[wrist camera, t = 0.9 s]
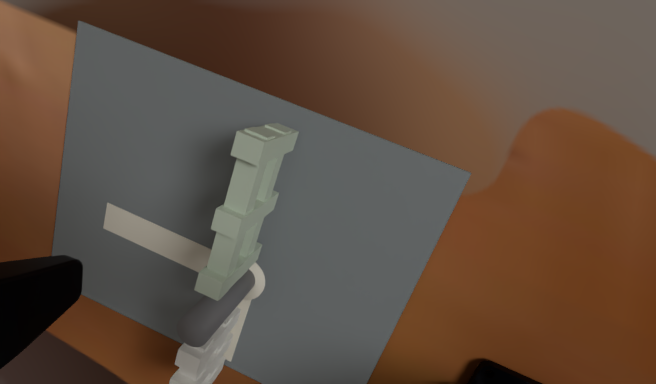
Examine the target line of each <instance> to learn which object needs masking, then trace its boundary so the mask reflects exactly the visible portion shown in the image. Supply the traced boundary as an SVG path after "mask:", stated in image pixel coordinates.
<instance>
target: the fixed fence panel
mask: <svg viewBox="0 0 656 384" xmlns="http://www.w3.org/2000/svg"><path fill="white" fill-rule="evenodd" d="M254 285H255V277H254V274H253V273H252V271H251V270H249V269H248V270H247V272H246V273H245V274H244V275H243V276H242V277H241V278H240V279H238V281H237V282H236V283H235V284H234V285H233V286H232V287H231V288H230V289H229V291H228V292H227V293H226V294H225V295H224V296H223V297H222V298H221V299H220V300H218V301H216V300H214V299H212V298H210V297H208V296H206V295H205V296H204V297H203V298H202V299H201V300H200V301H199V302H198V303H197V304H196V305H194V306H193V307H192V308H191V309H190V310H189V311H188V312H187V313H186V314H185V315H184V316H183V317H182V318H181V319H180V320H179V321H178V323H177V333H178V335H179V337H180V339H181V340H182V341H183V342H184V344H183V345H182V346H181V347H180V348H179V349H178V353H177V356H176V360H175V364H174V365H176V366H178V367H179V369H178V370H177V371H176V372H175V374H174V375H173V376H172V377H171V379H170V382H169V384H212V383H213V381H214V380H215V379H216V377H217V376H218V374H219V373H220V372H221V370H222V368H223V365H224V362H225V359H226V357H224V356H223V355H224V353H225V352H226V350H227V349H228V348H229V346H230V343H231V340H232V337H233V334H232V333H230V331H231V330H232V328H233V327H234V326H235V325H236V323H237V321H238V318H239V315H240V312H241V309H240V308H238V307H237V306H238V304H239V303H240V302H241V301H242V300H243V299H244V297H245V296H246V295H247V294H248V293H249V291H250V290H251V289H252V288H253V287H254Z"/></svg>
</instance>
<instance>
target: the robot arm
mask: <svg viewBox="0 0 656 384" xmlns="http://www.w3.org/2000/svg"><path fill="white" fill-rule="evenodd" d="M82 282H83V264H82V262H81V261H80V260H78V259H76V258H73V257H71V256H68V255H57V256H49V257H41V258H32V259H24V260H16V261H8V262H0V369H1V368H2V367H4V366H5V365H6V364H7V363H9V362H10V361H11V360H12V359H14V358H15V357H16V356H17V355H18V354H20V352H22V351H23V350H24V349H25V348H26V347H27V346H29V345H30V344H31V343H32V342H33V341H34V340H35V339H36V338H37V337H38V336H39V335H41V334H42V333H43V332H44V331H45V330H46V329H47V328H48V327H49V326H50V325H51V324H52V323H54V322H55V321H56V320H57V319H58V318H59V317H60V316H61V315H62V314H63V313H64V312H65V311H67V310H68V309H69V308H70V307H71V306H72V305H73V304H74V303H75V302H76V301H77V300H78V299H79V297H80V295H81V293H82ZM486 370H492V372H490V373H487V372H485V371H486ZM467 384H541V383H539V382H537V381H535V380H532V379H530V378H528V377H526V376H523V375H521V374H519V373H517V372H515V371H512V370H510V369H508V368H506V367H503V366H501V365H499V364H497V363H494V362H492V361H483V362H481V363H480V364H479V365H478V367H477V368H476V370H475V371H474V373H473V375H472V376H471V378H470V380H469V381H468V383H467Z"/></svg>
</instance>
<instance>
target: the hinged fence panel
mask: <svg viewBox="0 0 656 384" xmlns="http://www.w3.org/2000/svg"><path fill="white" fill-rule="evenodd" d="M298 133H299V131H296V130H294V129H291V128H289V127H286V126H284V125H281V124H278V123H274V124H273V123H271V124H266V125H264V126H259V127H250V128H245V130H240V131H237V132H236V136H235V140H234V143H233V147H232V151H231V155H232V156H234V157H237V159H236V163H235V166H234V170H233V174H232V177H231V181H230V185H229V188H228V192H227V195H226V199H225V203H224V204H223V205H221V206H219V207H218V208H216V211H215V214H214V218H213V222H212V226H211V229H212V230H214V231H216V236H215V239H214V243H213V247H212V250H211V254H210V257H209V261H208V265H207V266H206V267H204V268H203V269H202V270H201V271H199V274H198V278H197V282H196V285H195V289H194V290H195V291H197V292H199V293H202V294H204V295H206V296H208V297H210V298H212V299H214V300H216V301H218V300H220V299H221V298H222V297H223V296H224V295H225V294H226V293H227V292H228V291H229V289H230V288H231V287H232V286H233V285H234V284H235V283H236V282H237V281H238V279H240V278H241V277H242V276H243V275H244V274H245V273H246V272H247V270H248V269H249V268H250V267H251V266H252V265H253V264H254V263H255V262H256V261H257V260H258V257H259V254H260V250H261V247H262V244H260V243H258V242H257V239H258V235H259V232H260V229H261V226H262V223H263V220H264V217H265V216H266V215H268V214H269V213H270V212H271V211H273V210H274V207H275V204H276V201H277V198H278V195H279V193H278V192H276V191H274V190H273V188H274V185H275V182H276V179H277V175H278V172H279V169H280V166H281V163H282V160H283V157H284V154H286V153H288V152H290V151H293V149H294V145H295V142H296V139H297V136H298Z"/></svg>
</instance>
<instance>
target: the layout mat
mask: <svg viewBox="0 0 656 384" xmlns="http://www.w3.org/2000/svg"><path fill="white" fill-rule="evenodd" d="M271 123H273V124H274V123H278V124H281V125H284V126H286V127H289V128H291V129H294V130H296V131H299V133H298V136H297V139H296V142H295V145H294V149H293V151H290V152H288V153H286V154H284V157H283V160H282V163H281V166H280V169H279V172H278V175H277V179H276V182H275V185H274V188H273V190H274V191H276V192H278V193H279V195H278V198H277V201H276V204H275V207H274V210H273V211H271V212H270V213H269V214H268V215H266V216H265V217H264V220H263V223H262V226H261V229H260V232H259V235H258V239H257V242H258V243H260V244H262V247H261V250H260V254H259V257H258V260H257V261H256V262H255V263H254V264H253V265H252V266H251V267H250V268H249V270H251V271H252V273H253V274H254V277H255V285H254V287H253V288H252V289H251V290H250V291H249V293H248V294H247V295H246V296H245V297H244V299H243V300H242V301H241V302H240V303H239V304H238V306H237V307H238V308H240V309H241V312H240V315H239V318H238V321H237V323H236V325H235V326H234V327H233V328H232V330H231V331H230V333H232V334H233V337H232V340H231V343H230V346H229V348H228V349H227V350H226V352H225V353H224V355H223V356H224V357H226V359H225V362H224V365H226V366H228V367H230V368H232V369H234V370H236V371H238V372H240V373H242V374H244V375H246V376H248V377H250V378H252V379H254V380H256V381H258V382H260V383H262V384H367V382H368V380H369V378H370V376H371V374H372V372H373V370H374V368H375V366H376V364H377V362H378V360H379V358H380V356H381V354H382V352H383V350H384V348H385V346H386V344H387V342H388V340H389V338H390V336H391V334H392V332H393V330H394V328H395V326H396V324H397V322H398V320H399V318H400V316H401V314H402V312H403V310H404V308H405V306H406V304H407V302H408V300H409V298H410V296H411V294H412V292H413V290H414V288H415V286H416V284H417V282H418V280H419V278H420V276H421V274H422V272H423V270H424V268H425V265H426V263H427V261H428V259H429V257H430V255H431V253H432V251H433V249H434V247H435V245H436V243H437V241H438V239H439V237H440V235H441V233H442V231H443V229H444V227H445V225H446V223H447V221H448V219H449V217H450V215H451V213H452V211H453V209H454V207H455V205H456V203H457V201H458V199H459V197H460V195H461V193H462V191H463V189H464V187H465V185H466V183H467V181H468V179H469V177H470V175H471V173H470V172H467V171H465V170H463V169H460V168H457V167H455V166H452V165H450V164H447V163H444V162H442V161H439V160H437V159H434V158H432V157H429V156H427V155H424V154H421V153H419V152H416V151H414V150H411V149H409V148H406V147H403V146H401V145H398V144H396V143H393V142H391V141H388V140H385V139H383V138H380V137H378V136H375V135H373V134H370V133H367V132H365V131H362V130H360V129H357V128H355V127H352V126H349V125H347V124H344V123H342V122H339V121H337V120H334V119H331V118H329V117H326V116H324V115H321V114H319V113H316V112H313V111H311V110H308V109H306V108H303V107H300V106H298V105H295V104H293V103H290V102H287V101H285V100H282V99H280V98H277V97H275V96H272V95H270V94H267V93H265V92H262V91H259V90H257V89H254V88H252V87H249V86H246V85H244V84H242V83H239V82H236V81H234V80H231V79H229V78H226V77H223V76H221V75H218V74H215V73H213V72H211V71H208V70H206V69H203V68H200V67H198V66H195V65H193V64H190V63H188V62H185V61H182V60H180V59H177V58H175V57H172V56H169V55H167V54H164V53H162V52H159V51H156V50H154V49H152V48H149V47H146V46H144V45H141V44H138V43H136V42H134V41H131V40H128V39H126V38H123V37H121V36H118V35H115V34H113V33H110V32H107V31H105V30H103V29H100V28H97V27H95V26H92V25H90V24H87V23H85V22H82V21H78V29H77V37H76V46H75V55H74V63H73V72H72V81H71V90H70V99H69V107H68V116H67V125H66V134H65V142H64V151H63V160H62V169H61V178H60V186H59V195H58V204H57V213H56V222H55V230H54V239H53V248H52V256H57V255H68V256H71V257H73V258H76V259H78V260H80V261H81V262H82V264H83V282H82V293H81V294H82V295H84V296H86V297H88V298H90V299H92V300H94V301H96V302H98V303H100V304H102V305H104V306H106V307H108V308H110V309H112V310H114V311H116V312H118V313H120V314H122V315H124V316H126V317H128V318H130V319H132V320H134V321H137V322H139V323H141V324H143V325H145V326H147V327H149V328H151V329H153V330H155V331H157V332H159V333H161V334H163V335H165V336H167V337H169V338H171V339H173V340H175V341H177V342H179V343H181V344H184V342H183V341H182V340H181V339H180V337H179V335H178V333H177V323H178V321H179V320H180V319H181V318H182V317H183V316H184V315H185V314H186V313H187V312H188V311H189V310H190V309H191V308H192V307H193V306H194V305H196V304H197V303H198V302H199V301H200V300H201V299H202V298H203V297H204V296H205V295H204V294H202V293H199V292H197V291H195V290H194V289H195V285H196V282H197V278H198V274H199V271H201V270H202V269H203V268H204V267H206V266H207V265H208V261H209V257H210V254H211V250H212V247H213V243H214V239H215V236H216V231H214V230H212V229H211V226H212V222H213V218H214V214H215V211H216V208H218V207H219V206H221V205H223V204H224V203H225V199H226V195H227V192H228V188H229V185H230V181H231V177H232V174H233V170H234V166H235V163H236V159H237V157H234V156H232V155H231V151H232V147H233V143H234V140H235V136H236V132H237V131H240V130H245V128H250V127H259V126H264V125H266V124H271Z"/></svg>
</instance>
